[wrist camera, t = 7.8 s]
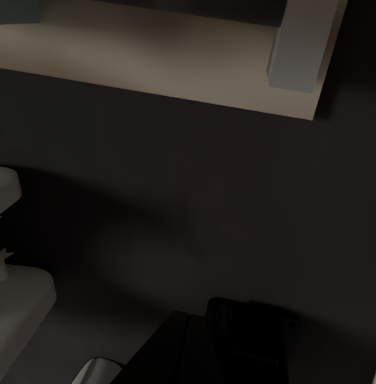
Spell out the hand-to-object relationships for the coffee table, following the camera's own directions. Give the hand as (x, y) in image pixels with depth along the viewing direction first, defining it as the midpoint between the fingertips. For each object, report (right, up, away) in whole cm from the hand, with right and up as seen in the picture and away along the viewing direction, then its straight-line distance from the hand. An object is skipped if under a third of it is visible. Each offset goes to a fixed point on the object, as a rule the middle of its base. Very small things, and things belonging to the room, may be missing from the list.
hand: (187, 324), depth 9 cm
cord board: (-6, +14, +9) cm, 18 cm away
